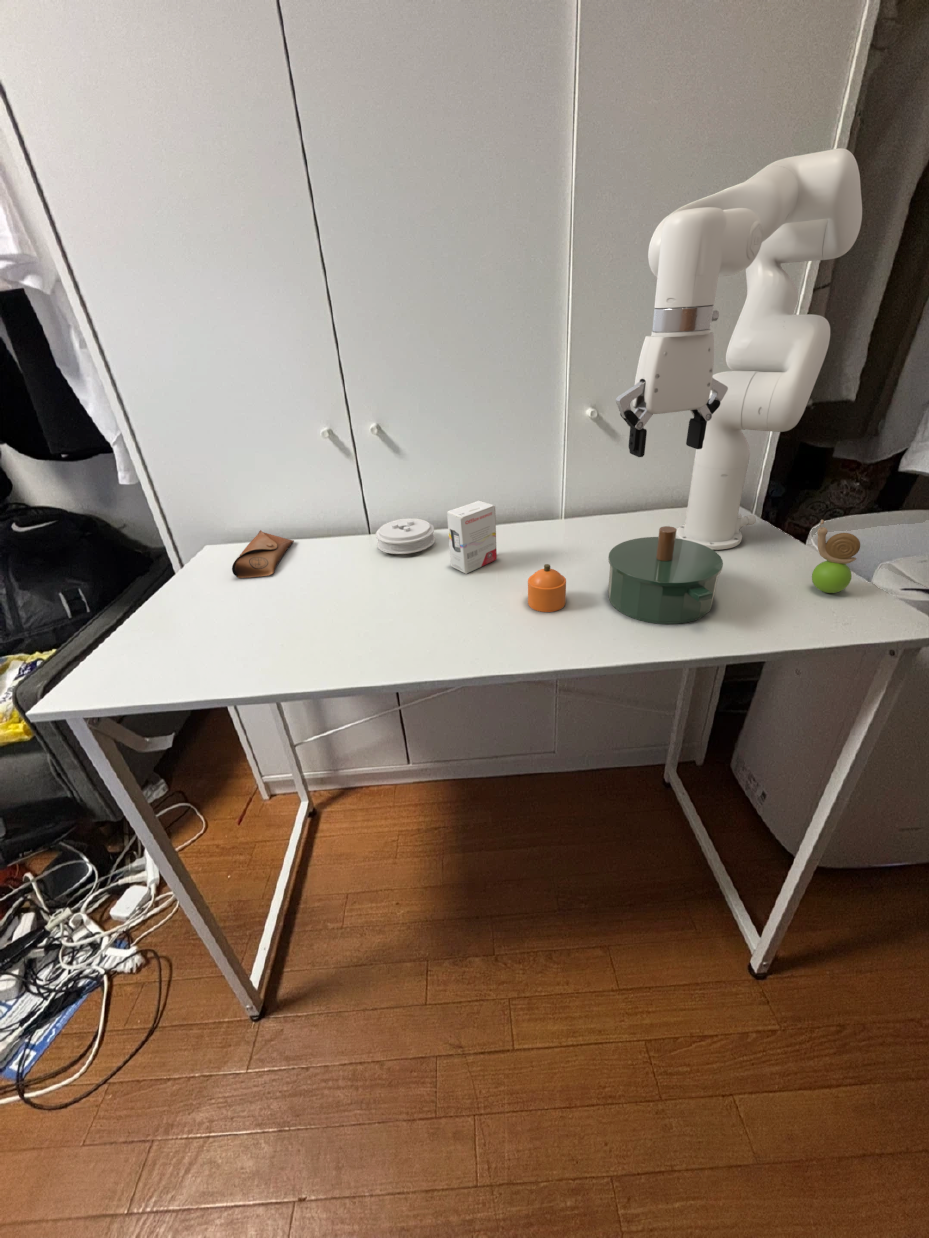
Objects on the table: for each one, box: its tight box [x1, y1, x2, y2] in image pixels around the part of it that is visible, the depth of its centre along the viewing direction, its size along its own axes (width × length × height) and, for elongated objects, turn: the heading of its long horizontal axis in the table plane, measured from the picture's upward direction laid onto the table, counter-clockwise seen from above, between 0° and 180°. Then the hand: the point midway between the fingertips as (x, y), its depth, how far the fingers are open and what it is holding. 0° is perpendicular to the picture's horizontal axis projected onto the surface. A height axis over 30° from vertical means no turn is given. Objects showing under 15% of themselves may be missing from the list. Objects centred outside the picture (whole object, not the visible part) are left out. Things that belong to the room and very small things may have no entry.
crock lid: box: [607, 525, 724, 586], centre depth 88 cm, size 18×18×6 cm
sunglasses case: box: [231, 529, 295, 579], centre depth 118 cm, size 18×7×7 cm
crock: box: [607, 565, 719, 625], centre depth 91 cm, size 17×22×7 cm
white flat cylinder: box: [375, 517, 436, 555], centre depth 118 cm, size 13×13×5 cm
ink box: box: [446, 500, 498, 575], centre depth 106 cm, size 9×5×12 cm, turn 129°
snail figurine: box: [811, 519, 861, 594], centre depth 88 cm, size 5×6×12 cm
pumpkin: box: [527, 563, 567, 613], centre depth 92 cm, size 6×6×7 cm
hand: (665, 451), depth 82 cm, fingers open, 9 cm apart
